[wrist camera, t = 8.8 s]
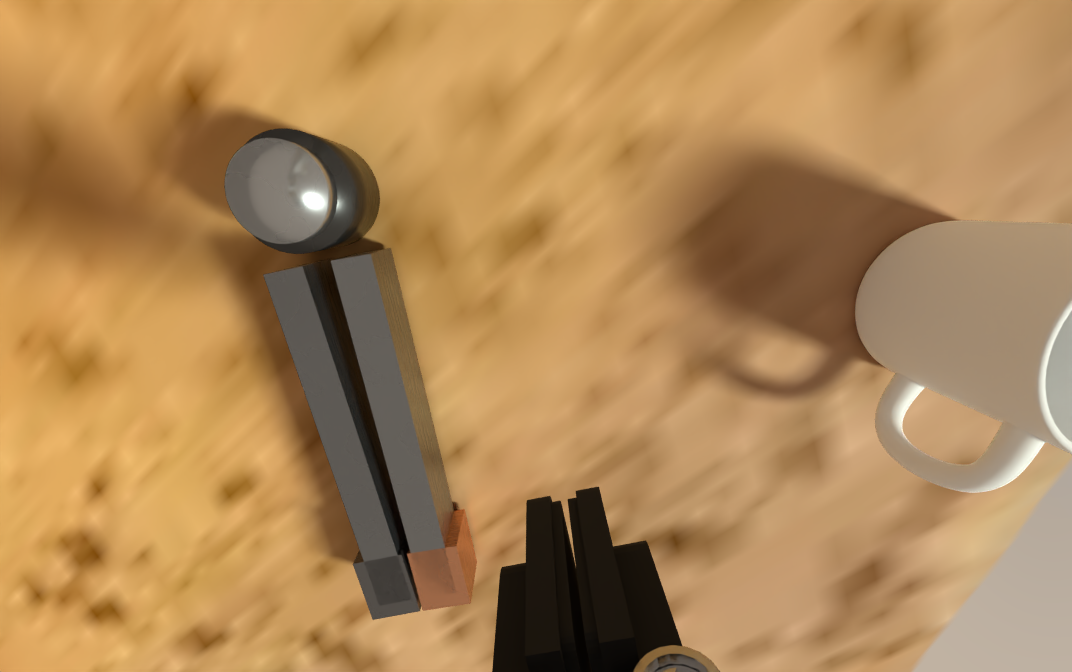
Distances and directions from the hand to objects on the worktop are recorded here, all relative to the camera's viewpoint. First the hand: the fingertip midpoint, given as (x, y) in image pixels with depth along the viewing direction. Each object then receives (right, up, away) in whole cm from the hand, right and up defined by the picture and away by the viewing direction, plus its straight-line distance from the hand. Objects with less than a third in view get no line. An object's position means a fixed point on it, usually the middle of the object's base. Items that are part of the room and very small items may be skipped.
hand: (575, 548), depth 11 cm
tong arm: (-9, +2, +15) cm, 18 cm away
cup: (+19, +5, +16) cm, 25 cm away
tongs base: (-9, +3, +16) cm, 18 cm away
